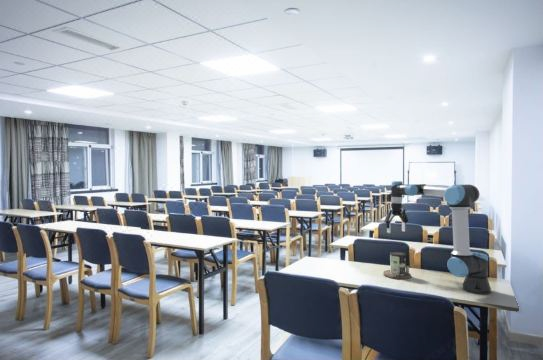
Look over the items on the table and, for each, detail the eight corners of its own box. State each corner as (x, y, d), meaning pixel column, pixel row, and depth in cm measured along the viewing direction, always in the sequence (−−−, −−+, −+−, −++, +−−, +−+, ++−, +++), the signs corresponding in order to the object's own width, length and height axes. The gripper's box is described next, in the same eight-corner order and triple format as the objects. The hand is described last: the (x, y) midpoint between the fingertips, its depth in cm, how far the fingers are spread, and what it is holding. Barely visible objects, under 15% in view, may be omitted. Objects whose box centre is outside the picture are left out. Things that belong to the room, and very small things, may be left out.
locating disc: (416, 277, 248) (416, 266, 248) (396, 280, 241) (396, 269, 241) (397, 270, 265) (397, 260, 265) (378, 273, 258) (378, 263, 257)
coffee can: (404, 271, 257) (404, 252, 256) (406, 276, 246) (406, 255, 246) (389, 271, 259) (389, 251, 258) (390, 275, 248) (390, 254, 248)
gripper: (405, 201, 270) (405, 230, 271) (379, 202, 260) (378, 232, 261) (413, 202, 263) (413, 231, 264) (386, 203, 253) (386, 234, 254)
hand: (396, 232), depth 262 cm, fingers open, 13 cm apart
